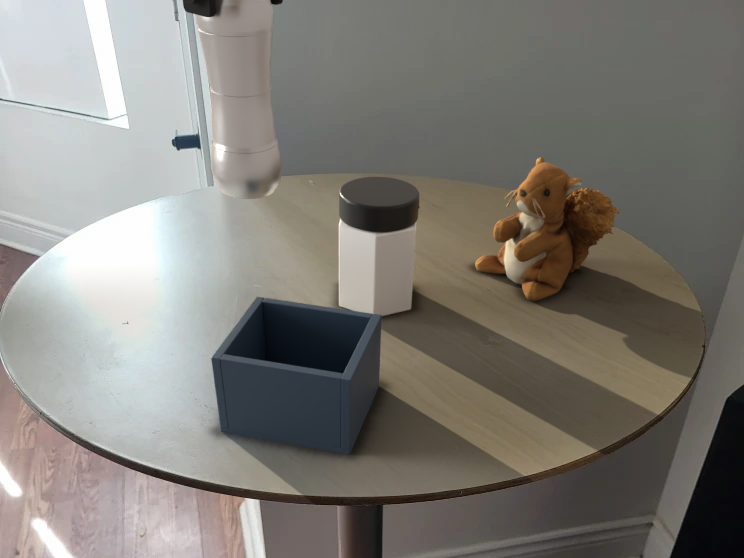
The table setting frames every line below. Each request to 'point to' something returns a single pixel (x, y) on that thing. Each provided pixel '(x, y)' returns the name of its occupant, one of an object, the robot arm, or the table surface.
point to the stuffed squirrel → (548, 230)
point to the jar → (377, 244)
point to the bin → (298, 374)
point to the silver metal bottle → (241, 97)
